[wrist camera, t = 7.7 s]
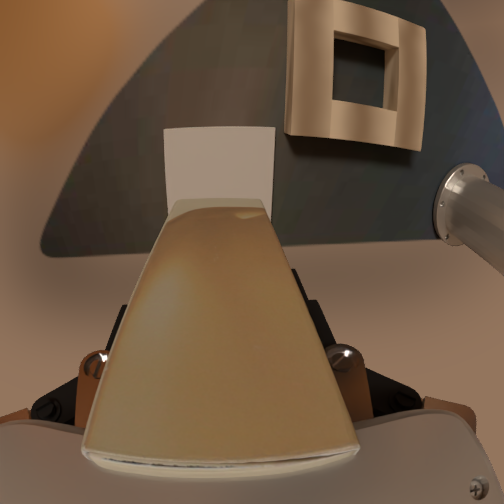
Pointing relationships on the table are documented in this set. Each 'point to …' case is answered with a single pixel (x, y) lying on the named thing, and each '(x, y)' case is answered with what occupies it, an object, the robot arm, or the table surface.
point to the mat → (219, 163)
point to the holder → (321, 74)
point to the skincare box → (217, 358)
